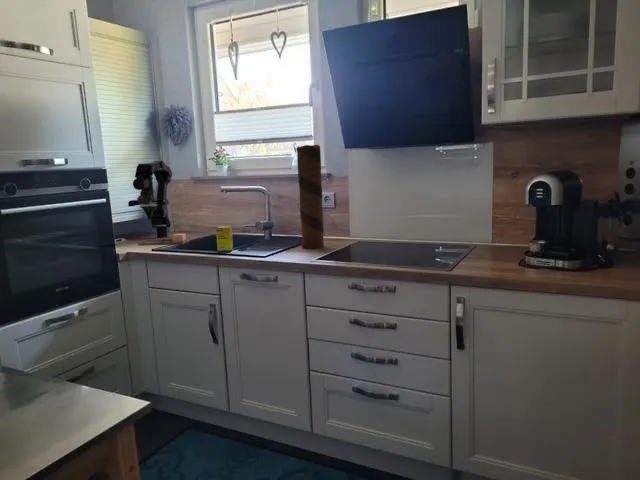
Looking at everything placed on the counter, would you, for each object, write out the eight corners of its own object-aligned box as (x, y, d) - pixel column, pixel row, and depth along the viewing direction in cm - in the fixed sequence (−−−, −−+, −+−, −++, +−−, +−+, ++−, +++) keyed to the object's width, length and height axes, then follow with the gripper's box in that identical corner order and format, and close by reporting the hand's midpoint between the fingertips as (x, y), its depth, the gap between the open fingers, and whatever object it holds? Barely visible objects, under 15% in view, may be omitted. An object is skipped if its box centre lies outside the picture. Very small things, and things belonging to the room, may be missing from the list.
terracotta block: (176, 241, 258) (175, 233, 258) (186, 241, 258) (185, 233, 257) (172, 243, 253) (172, 235, 253) (182, 243, 253) (182, 235, 252)
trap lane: (147, 243, 263) (147, 239, 262) (190, 242, 261) (189, 238, 261) (137, 247, 251) (137, 243, 250) (182, 246, 249) (182, 241, 249)
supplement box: (230, 252, 228) (229, 227, 226) (217, 252, 228) (215, 227, 226) (233, 249, 234) (231, 225, 232) (220, 250, 234) (218, 226, 232)
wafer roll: (312, 249, 225) (308, 144, 218) (296, 247, 233) (292, 145, 226) (329, 246, 232) (326, 144, 225) (314, 244, 240) (310, 145, 233)
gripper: (122, 190, 252) (125, 222, 254) (159, 189, 251) (162, 221, 253) (131, 189, 263) (134, 219, 265) (167, 187, 262) (170, 218, 264)
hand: (150, 219), depth 262 cm, fingers closed
